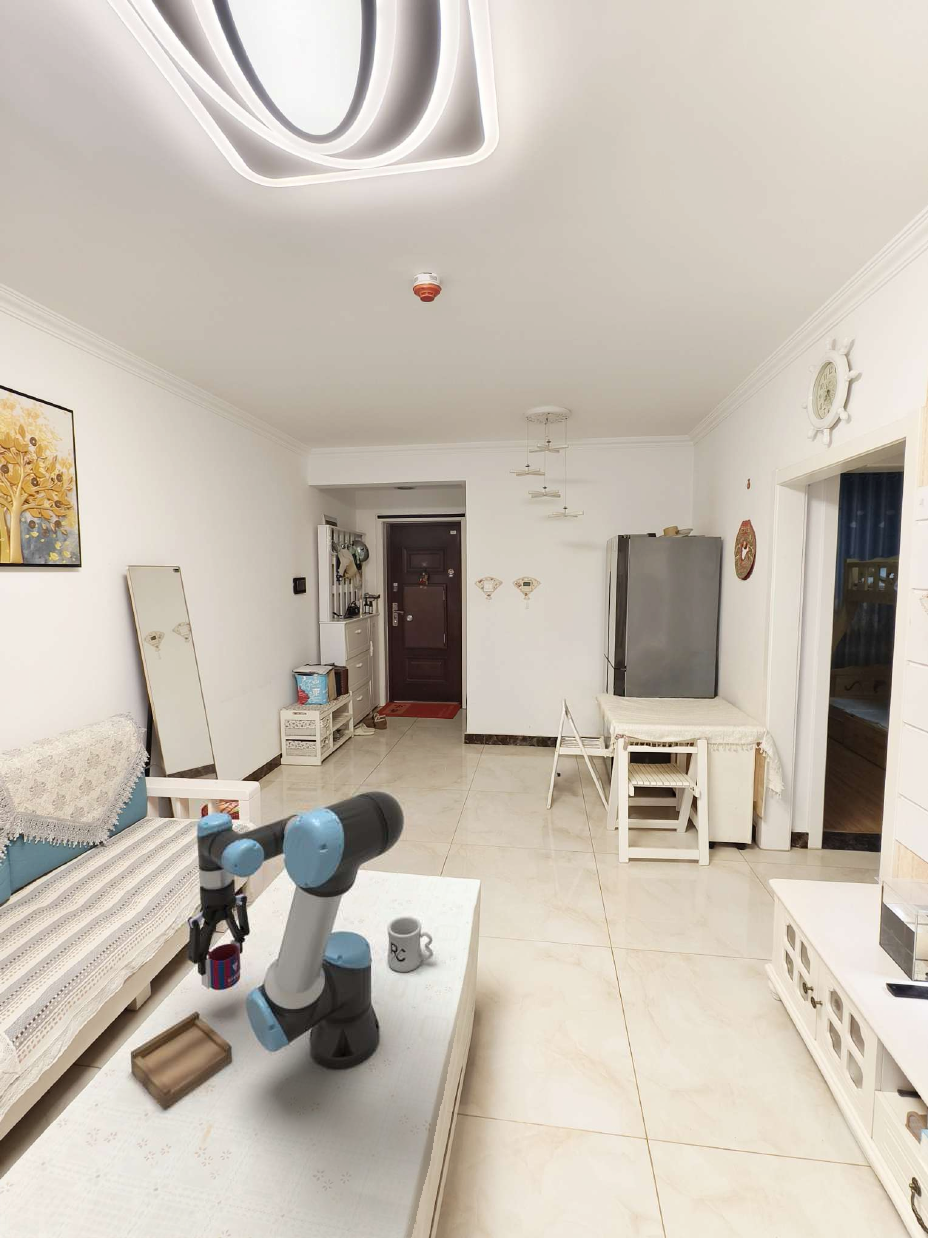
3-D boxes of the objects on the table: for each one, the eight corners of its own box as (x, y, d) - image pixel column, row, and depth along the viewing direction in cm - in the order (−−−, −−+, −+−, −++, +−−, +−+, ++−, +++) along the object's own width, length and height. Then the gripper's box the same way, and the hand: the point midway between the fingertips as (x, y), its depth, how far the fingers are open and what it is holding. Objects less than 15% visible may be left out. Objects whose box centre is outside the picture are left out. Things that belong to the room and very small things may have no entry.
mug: (382, 970, 151) (381, 933, 150) (394, 948, 160) (394, 913, 159) (427, 978, 148) (427, 941, 147) (437, 955, 157) (437, 920, 156)
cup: (225, 993, 132) (224, 964, 131) (191, 983, 135) (190, 954, 135) (246, 975, 138) (245, 947, 137) (214, 965, 141) (212, 938, 141)
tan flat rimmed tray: (231, 1061, 123) (231, 1041, 122) (164, 1110, 111) (164, 1088, 111) (197, 1030, 131) (196, 1011, 131) (131, 1072, 120) (130, 1052, 120)
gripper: (246, 861, 145) (249, 949, 147) (166, 895, 130) (171, 994, 131) (263, 869, 141) (267, 960, 142) (183, 906, 125) (188, 1008, 127)
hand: (221, 976), depth 137 cm, fingers closed on cup, 7 cm apart
